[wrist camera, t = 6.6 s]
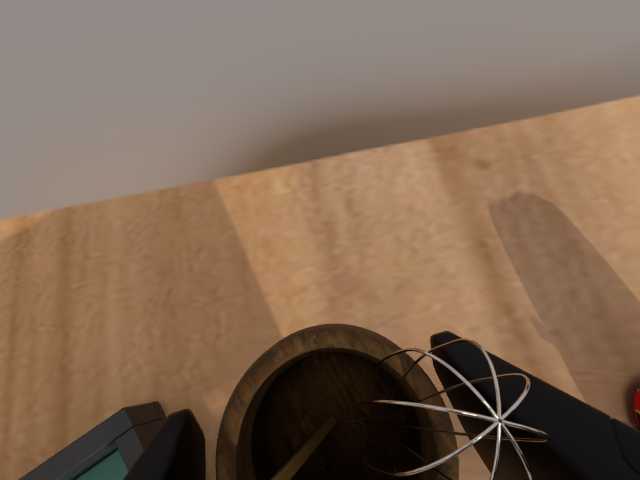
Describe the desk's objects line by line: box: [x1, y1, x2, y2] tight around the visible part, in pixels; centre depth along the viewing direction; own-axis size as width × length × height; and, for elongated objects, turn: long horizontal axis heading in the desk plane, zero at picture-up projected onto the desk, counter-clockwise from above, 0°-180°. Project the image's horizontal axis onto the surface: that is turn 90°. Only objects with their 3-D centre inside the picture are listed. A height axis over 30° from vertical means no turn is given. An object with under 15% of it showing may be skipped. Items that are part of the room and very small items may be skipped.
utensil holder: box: [216, 324, 552, 480], centre depth 9 cm, size 6×6×12 cm
